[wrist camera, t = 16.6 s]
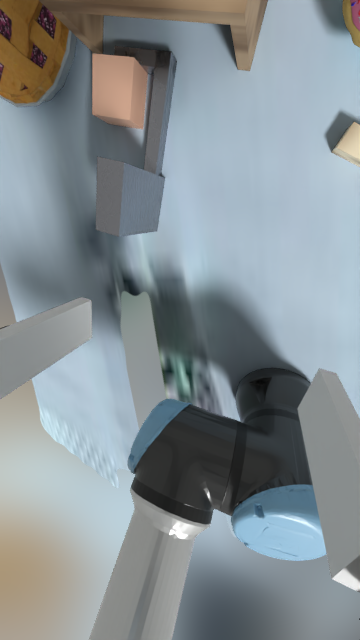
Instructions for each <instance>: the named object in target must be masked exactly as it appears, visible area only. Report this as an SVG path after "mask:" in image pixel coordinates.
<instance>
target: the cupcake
mask: <svg viewBox="0 0 360 640" xmlns="http://www.w3.org/2000/svg"><path fill="white" fill-rule="evenodd" d="M342 11H343V17H344V21H345V25H346V27H347V29H348V31H349V32H350V34H351V36H352V41H353V43H354V44H355V45H356V46H358V47H360V0H343V7H342Z"/></svg>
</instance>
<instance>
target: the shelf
mask: <svg viewBox="0 0 360 640" xmlns="http://www.w3.org/2000/svg"><path fill="white" fill-rule="evenodd" d="M39 1H40V2H41V3H42V4H43V5H44V6H45V7H46V8H47V9H48V10H49V11H50V12H51V13H53V14H54V15H55V16H56V17H57V18H58V19H59V20H60V21H61V22H62V23H63V24H64V25H65V26H66V27H67V28H68V29H69V30H70V31H71V32H72V33H73V34H74V35H75V36H76V37H77V38H79V39H80V40H81V41H82V42H83V43H84V44H85V45H86V46H87V47H88V48H89V49H90V50H91V51H92V52H93V53H99V54H103V19H104V15H108V16H121V17H134V18H148V19H161V20H174V21H187V22H200V23H213V24H226V25H230V27H231V32H232V38H233V44H234V50H235V56H236V62H237V67H238V70H246V71H250V68H251V64H252V60H253V57H254V53H255V49H256V45H257V41H258V37H259V33H260V29H261V25H262V21H263V17H264V13H265V10H266V6H267V2H268V0H39Z"/></svg>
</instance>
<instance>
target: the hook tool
mask: <svg viewBox="0 0 360 640" xmlns="http://www.w3.org/2000/svg"><path fill="white" fill-rule="evenodd" d="M114 55H116V56H127V57H134V58H135V59H136V60H137V61H138V63H139V64H140V65H141V66H142V68H143V69H144V70H145V71H146V72H147V74H153V75H154V79H153V89H152V98H151V107H150V117H149V126H148V135H147V145H146V154H145V163H144V170H143V169H140V168H137V167H135V166H132V165H130V164H127V163H124V162H120V161H115V160H111V159H106V158H102V157H97V199H96V230H98V231H102V232H105V233H108V234H112V235H115V236H119V237H120V236H127V235H133V234H140V233H147V232H154V231H157V229H158V222H159V215H160V208H161V201H162V195H163V188H164V181H165V178H163V177H161V171H162V164H163V157H164V149H165V142H166V135H167V128H168V121H169V113H170V106H171V99H172V92H173V85H174V78H175V70H176V63H177V61H176V59H175V57H174V56H173V54H172V52H169V51H160V50H150V49H140V48H131V47H121V46H115V52H114Z"/></svg>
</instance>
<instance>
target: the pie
mask: <svg viewBox="0 0 360 640" xmlns="http://www.w3.org/2000/svg"><path fill="white" fill-rule="evenodd" d="M76 42H77V37H76V36H75V35H74V34H73V33H72V32H71V31H70V30H69V29H68V28H67V27H66V26H65V25H64V24H63V23H62V22H61V21H60V20H59V19H58V18H57V17H56V16H55V15H54V14H53V13H51V12H50V11H49V10H48V9H47V8H46V7H45V6H44V5H43V4H42V3H41V2H40V1H39V0H0V97H1V98H2V99H4V100H6V101H8V102H9V103H11V104H13V105H15V106H16V107H27V106H39V105H40V104H41V103H42V102H44V101H50V100H51V99H52V98H53V97H54V96H55V95H56V94H57V92H58V91H59V90H60V89H61V88H62V87H63V86H64V83H65V80H66V78H67V75H68V73H69V70H70V68H71V65H72V63H73V60H74V58H75V50H76Z"/></svg>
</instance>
